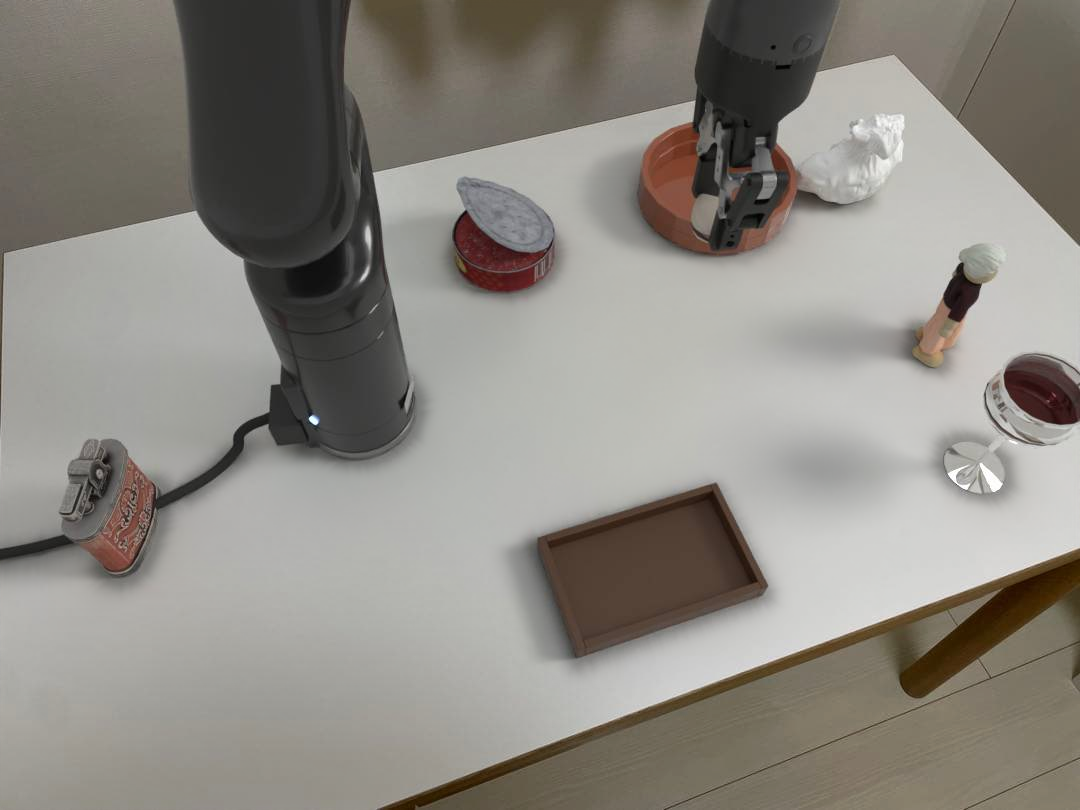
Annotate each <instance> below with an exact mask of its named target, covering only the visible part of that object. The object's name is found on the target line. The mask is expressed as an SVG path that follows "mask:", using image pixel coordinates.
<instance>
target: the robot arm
mask: <svg viewBox="0 0 1080 810" xmlns="http://www.w3.org/2000/svg"><path fill="white" fill-rule="evenodd" d="M841 1H842V0H708V2H707V7H706V11H705V16H704V20H703V25H702V30H701V36H700V41H699V46H698V51H697V56H696V61H695V67H694V81H695V84H696V94H695V102H694V111H693V118H692V122H693V123H692V128H693V131H694V133H695V134H698V133H700V137H699V139H698V142H697V145H696V151H697V154H698V156H699V158H698V162H697V167H696V171H695V175H694V180H693V184H692V188H691V190H692V193H693V196H694V198H696V199H697V198H698V196H699V195H700V194H708V195H712V196H716V197H717V196H718V195H719V201H718V208H717V211H716V214H715V218H714V222H713V226H712V229H711V233H710V237H709V240H708V242H709V246H710V249H711V250H712V251H725V250H733V249H736V248H737V247H738V246H739V243H740V240H741V237H742V234H743V231H744V229H753V228H755V229H761V228H764V226H765V224H766V223H767V221H768V219H769V217H770V216H771V214H772V212H773V211H774V209H775V207H776V205H777V204H778V202H779V200H780V198H781V197H782V195H783V193H784V191H785V190H786V188H787V185H788V174H787V172H786V170H780V171H774V168H773V164H772V160H771V154H772V152H773V151H774V149H775V146H776V143H777V141H778V133H779V123H780V122H781V121H782V120H783V119H784V118H786V117H787V116H788V115H790V114H791V113H792V112H794V111H795V110H796V109H798V108H799V107H800V106H802V105H803V104H804V102H805V101H806V100H807V98H808V97H809V95H810V93H811V90H812V87H813V85H814V82H815V79H816V75H817V72H818V71H819V70H818V69H819V66H820V64H821V61H822V58H823V55H824V52H825V49H826V46H827V43H828V40H829V37H830V35H831V33H832V29H833V26H834V23H835V20H836V18H837V14H838V11H839V8H840V5H841ZM171 2H172V7H173V10H174V16H175V20H176V24H177V29H178V34H179V39H180V48H181V55H182V63H183V74H184V89H185V90H184V91H185V106H186V107H185V108H186V125H187V152H188V153H187V157H188V158H187V160H188V162H187V164H188V165H187V167H188V190H189V195H190V199H191V202H192V205H193V207H194V209H195V212H196V214H197V216H198V218H199V219H200V221H201V222H202V224H203V225H204V227H205V229H206V230H208V232H209V233H210V234H211V235H212V237H213V239H215V240H216V241H217V242H218V243H220V244H221V245H222V246H223V247H224V248H225V249H226V250H228V251H230V252H231V253H232V254H234V255H235V256H237V257H239V258H240V259H242V260H243V270H244V274H245V280H246V282H247V286H248V288H249V290H250V293H251V296H252V298H253V300H254V302H255V305H256V307H257V309H258V311H259V314H260V316H261V318H262V321H263V323H264V326H265V328H266V330H267V332H268V335H269V337H270V340H271V342H272V344H273V346H274V349H275V351H276V353H277V356H278V358H279V361H280V375H279V383H275V384H271V385H270V391H269V393H270V395H269V408H268V409H269V411H268V412H266V413H264V414H261V415H258V416H256V417H253V418H250V419H249V420H247V421H245V422H243V423H242V424H241V425H240V426H239V427H238V428H237V429H235V432H233V436H232V446H231V447H230V449H229V450H228V451H227V453H226V454H225V455H224V456H223V457H222V458H221V459H220V460H219V461H218V462H216V463H215V464H214V465H213V466H212V467H211V468H209V469H208V470H206V471H205V472H203V473H201V474H200V475H199V476H197V477H195V478H193V479H191V480H190V481H188V482H187V483H184V484H182V485H180V486H179V487H177V488H175V489H173V490H171V491H169V492H167V493H164V494H163V495H161V497H159V498H157V499H155V500H153V509H154V508H155V507H156V509H157V510H159V509H160V510H161V509H162V508H164V507H167V506H169V505H171V504H172V503H174V502H176V501H179V500H180V499H183V498H185V497H187V496H188V495H190V494H192V493H193V492H196V491H197V490H199V489H201V488H203V487H204V486H206V485H207V484H209V483H210V482H212V481H213V480H215V479H216V478H218V477H219V476H220V475H221V474H222V473H223V472H225V471H226V470H227V469H228V468H229V467H230V466H231V465H232V464H233V463H234V462H236V460H237V459H238V457H239V456H240V455H241V453H242V452H243V450H244V448H245V437H246V436H247V435H249V433H251V432H253V431H254V430H257V429H259V428H261V427H265V426H267V427H268V430H269V433H270V434H271V437H272V439H273V441H274V442H275V445H276V446H277V447H279V446H281V447H282V446H290V445H291V446H292V445H301V444H302V445H303V444H306V446H307V448H311V449H312V448H320V449H322V450H323V451H324V452H326V453H328V454H330V455H332V456H335V457H337V458H341V459H347V460H367V459H370V458H371V459H372V458H374V457H378V456H380V455H383V454H385V453H387V452H389V451H391V450H392V449H394V448H395V447H397V446H398V445H399V444H400V443H402V441H403V440H404V439H405V438H407V436H408V434H409V433H410V431H411V430H412V429H413V426H414V424H415V421H416V416H417V400H416V395H415V392H414V389H415V381H414V376H413V375H411V377H410V373H409V368H408V362H407V358H406V353H405V349H404V344H403V343H404V342H403V338H402V335H401V328H400V325H399V320H398V315H397V311H396V306H395V300H394V296H393V292H392V287H391V282H390V277H389V272H388V268H387V264H386V258H385V249H384V239H383V225H382V217H381V209H380V204H379V198H378V192H377V188H376V182H375V175H374V171H373V166H372V165H373V164H372V159H371V153H370V148H369V144H368V138H367V133H366V128H365V123H364V120H363V116H362V113H361V109H360V107H359V104H358V102H357V100H356V98H355V96H354V94H353V92H352V91H351V89H350V88H349V86H348V85H347V83H346V82H345V52H346V51H345V49H346V42H347V41H346V39H347V33H348V32H347V31H348V23H349V18H350V10H351V3H352V0H171ZM728 166H729V167H731V168H745V167H752V169H751V170H750V171H742V172H729V173H728ZM734 189H739V191H738V193H737V195H736V197H735V199H734V200H732V201H731V194H732V191H733V190H734ZM75 543H76V542H73V541H72V540H70V539H69V538H67V537H66V536H65V535H64V533H63V534H60V535H57V536H52V537H49V538H46V539H41V540H37V541H33V542H28V543H24V544H19V545H14V546H8V547H2V548H0V561H1V560H8V559H14V558H19V557H23V556H29V555H34V554H37V553H42V552H46V551H50V550H54V549H58V548H61V547H65V546H68V545H71V544H75Z"/></svg>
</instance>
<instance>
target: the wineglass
mask: <svg viewBox="0 0 1080 810" xmlns="http://www.w3.org/2000/svg"><path fill="white" fill-rule="evenodd" d="M982 402H983V412H984V414H985V417H986V419H987V421H988V423H989V424H990V425H991V426H992V428H993V429H994V430H995V431H996V432H997V433H998V434H997V435H996V436H995V438H994V439H993V440H992V442H991V443H990V444H988V447H986V446H984V445H982V444H979V443H977V442H973V441H960V442H956V443H955V444H952V445H950V446H949V448H947V449H946V451H945V453H944V457H943V463H944V468H945V471H946V473H947V475H948V476H949V477H950V479H951V480H952V481H953V482H954V483H955V484H957V485H958V487H960V488H961V489H964V490H966V491H968V492H970V493H973V494H980V495H984V494H991V493H994V492H996V491H997V490H999V489H1000V488H1001V486H1002V485H1003V484H1004V481H1005V478H1006V475H1005V474H1006V473H1005V467H1004V465H1003V463H1002V460H1001V459H1000V458H999V457H998V456H997V454H996V453H994V452H995V451H996V450H997V449H998V448H1000V446H1002V445H1003V444H1004V443H1005V442H1006V441H1007V440H1008V441H1009V442H1011V443H1014V444H1016V445H1019V446H1021V447H1026V448H1032V449H1042V448H1043V449H1044V448H1049V447H1054V446H1056V445H1059V444H1060V443H1063V442H1065V441H1067V440H1069V439H1070V438H1072V437H1073V436H1074V435H1075V434H1076V433H1077V431H1078V430H1079V429H1080V368H1079V367H1078V366H1077V365H1075V364H1073V363H1072V362H1070V361H1068V360H1067V359H1065V357H1064V358H1063V357H1061V356H1058V355H1055V354H1053V353H1051V352H1044V351H1038V350H1032V351H1031V350H1030V351H1022V352H1019V353H1016V354H1015V355H1014V354H1013V355H1012V356H1010V357H1009V359H1007V360H1006V361H1005V362H1004V364H1003V366H1002V368H1001V369H1000V370H998V371H997V372H996V373H995V374H994V375H993V376H992V377H991V378H990V379H989V381H988V382H987V383H986V387H985V389H984V392H983V401H982Z"/></svg>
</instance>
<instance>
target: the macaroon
mask: <svg viewBox="0 0 1080 810" xmlns="http://www.w3.org/2000/svg"><path fill="white" fill-rule="evenodd" d="M718 201H719V197H716V196H712V195H708V194H700V195H699V196H698V198H697V199H696V201H695V204H694V206H693V209H692V214H691V226H692V229H693V233H694V234H695V236H696V237H697V238H698V239H700V240H702V241H703V242H706V243H709V242H708V240H709V237H710V233H711V229H712V226H713V222H714V218H715V214H716V211H717V208H718Z"/></svg>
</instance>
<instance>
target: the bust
mask: <svg viewBox="0 0 1080 810" xmlns="http://www.w3.org/2000/svg"><path fill="white" fill-rule="evenodd" d="M848 126H849V128H850V130H849V134H850V135H851V136H847V137H844V138H842V139H841V140H840V141H838V142H837V143H836V144H833V145H832V146H831V147H830V148H829V149H828V150H820V151H817V152H815V153H813V154H811V155H810V156H808V157H807V158H806V159H805V160H804V161H803V162H802V163H801V164H800V165H799V166H798V167H797V168H795V170H796V173H797V191H798V190H799V191H802V192H805V193H806V192H807V193H813V194H815V195H816V196H817V197H819V198H820V199H821V200H823V201H825V202H829V203H832V202H833V203H836V204H839V205H846V204H847V205H848V204H852V203H856V202H859V201H862V200H865V199H868V198H870V197H871V196H872V195H873V194H875V193H876V192H877V191H879V190H880V189H881V188H882V187H883V186H884V184H885V182H886V181H887V180H888V178H889V177H890V174H891V172H892V171H893V170H894V169H895V167H896V166H898V165H899V164H901V162H902V161H903V160H904V159H903V152H904V145H905V143H904V140H903V139H902V135H903V132H904V129H905V126H906V124H905V116H904V114H901V113H896V114H891V115H890V114H885V113H882V112H880V113H878V112H877V113H876V114H874V115H872V116H871V117H869V119H868V120H867V121H865V119H862V118H859V119H858V118H857V119H852V120H851V121H850V122H849V124H848Z"/></svg>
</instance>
